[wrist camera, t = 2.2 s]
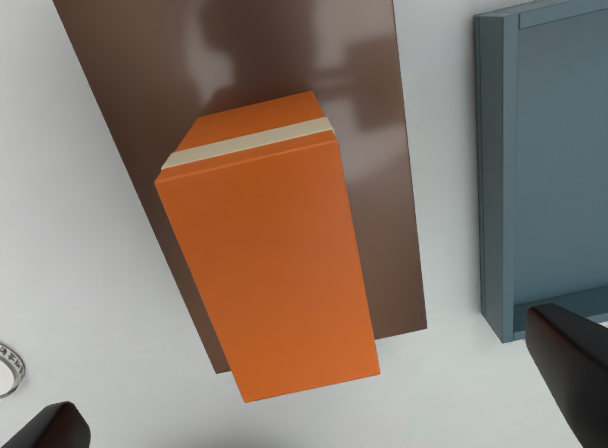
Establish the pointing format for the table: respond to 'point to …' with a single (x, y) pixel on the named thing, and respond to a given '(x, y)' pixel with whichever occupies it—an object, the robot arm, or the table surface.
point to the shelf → (255, 89)
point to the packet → (272, 245)
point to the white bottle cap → (9, 372)
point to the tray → (542, 160)
